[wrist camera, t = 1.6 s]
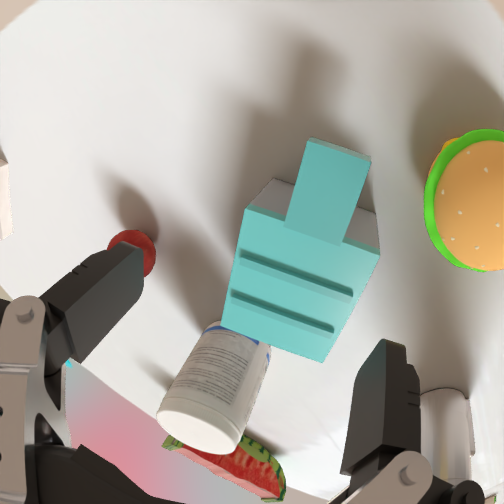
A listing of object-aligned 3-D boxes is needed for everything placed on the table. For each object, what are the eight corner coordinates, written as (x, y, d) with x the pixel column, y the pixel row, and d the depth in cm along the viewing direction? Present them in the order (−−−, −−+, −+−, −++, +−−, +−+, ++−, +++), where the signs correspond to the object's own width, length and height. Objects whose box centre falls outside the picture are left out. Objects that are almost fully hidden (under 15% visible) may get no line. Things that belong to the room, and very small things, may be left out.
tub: (375, 213, 27) (379, 249, 21) (332, 309, 34) (324, 355, 28) (273, 178, 29) (249, 203, 23) (247, 279, 35) (224, 318, 29)
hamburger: (507, 253, 24) (539, 304, 17) (405, 238, 27) (417, 291, 20) (531, 138, 18) (582, 161, 11) (420, 111, 22) (447, 119, 14)
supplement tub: (192, 327, 42) (137, 409, 30) (243, 307, 37) (190, 404, 25) (234, 373, 45) (194, 455, 32) (287, 359, 40) (253, 456, 28)
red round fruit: (173, 262, 38) (136, 301, 31) (137, 261, 39) (100, 295, 33) (161, 218, 35) (118, 251, 28) (124, 220, 37) (81, 250, 30)
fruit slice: (182, 408, 56) (160, 447, 48) (197, 401, 53) (173, 443, 44) (277, 466, 59) (265, 502, 50) (297, 462, 55) (284, 501, 47)
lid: (409, 170, 19) (416, 180, 17) (325, 349, 29) (321, 369, 26) (270, 123, 20) (259, 127, 18) (227, 313, 30) (216, 331, 28)
